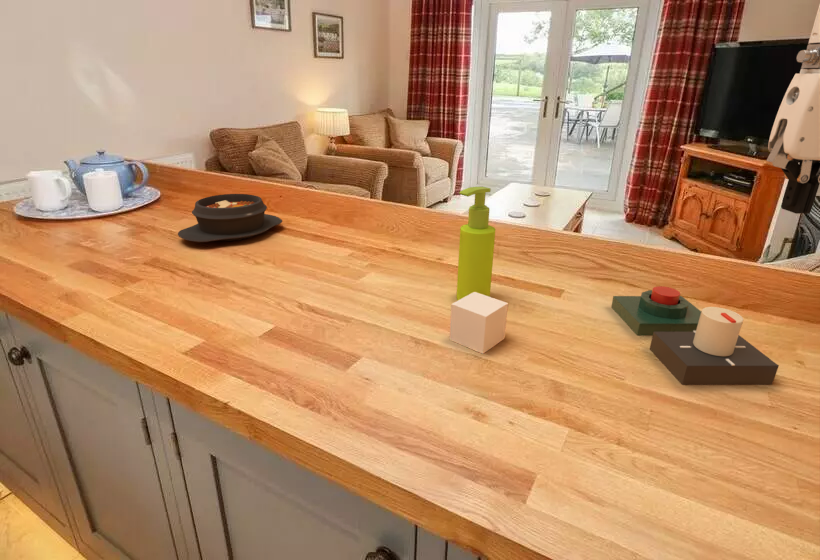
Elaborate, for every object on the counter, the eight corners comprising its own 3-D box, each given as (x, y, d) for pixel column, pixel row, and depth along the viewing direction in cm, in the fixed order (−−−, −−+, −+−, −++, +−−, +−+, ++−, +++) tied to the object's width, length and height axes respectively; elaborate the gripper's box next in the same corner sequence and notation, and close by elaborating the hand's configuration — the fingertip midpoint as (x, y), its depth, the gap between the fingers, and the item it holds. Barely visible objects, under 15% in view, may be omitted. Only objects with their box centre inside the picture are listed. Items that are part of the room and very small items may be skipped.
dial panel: (729, 349, 72) (735, 330, 71) (772, 385, 64) (779, 364, 63) (649, 349, 72) (653, 330, 71) (681, 385, 64) (687, 364, 63)
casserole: (204, 256, 105) (198, 218, 102) (164, 237, 116) (158, 203, 113) (298, 230, 123) (296, 197, 120) (256, 217, 134) (252, 186, 131)
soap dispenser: (445, 298, 87) (450, 187, 79) (473, 289, 91) (480, 182, 83) (468, 310, 83) (475, 193, 75) (496, 300, 87) (506, 188, 79)
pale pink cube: (449, 340, 74) (451, 303, 72) (471, 326, 78) (474, 291, 76) (482, 354, 70) (486, 316, 68) (504, 338, 74) (508, 302, 72)
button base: (679, 307, 85) (684, 286, 84) (713, 335, 76) (719, 312, 75) (611, 307, 85) (615, 286, 83) (636, 335, 76) (642, 312, 74)
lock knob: (685, 338, 69) (694, 304, 67) (718, 338, 69) (729, 304, 67) (705, 356, 65) (716, 321, 63) (741, 356, 65) (752, 320, 63)
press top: (669, 295, 81) (672, 286, 80) (682, 306, 77) (685, 296, 77) (646, 295, 81) (648, 286, 80) (657, 306, 77) (660, 296, 77)
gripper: (804, 59, 55) (758, 219, 62) (935, 60, 55) (874, 218, 62) (759, 61, 62) (722, 204, 69) (875, 61, 62) (827, 204, 69)
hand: (794, 210), depth 66 cm, fingers closed
